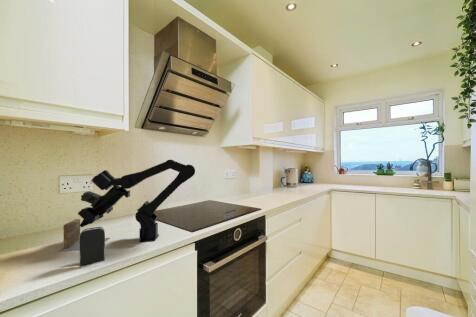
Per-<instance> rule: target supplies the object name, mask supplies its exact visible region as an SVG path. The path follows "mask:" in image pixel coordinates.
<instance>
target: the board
mask: <svg viewBox="0 0 476 317" xmlns="http://www.w3.org/2000/svg"><path fill="white" fill-rule="evenodd" d="M80 224H81V219H80V218H76V219H73V220H70V221H68V222H67V223H65V224H63V248H64V249H65V248H70V247H71V246H73V245H74V244H76V243H77V242H78V241H79V236H80V233H81V226H80Z"/></svg>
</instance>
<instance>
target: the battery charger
mask: <svg viewBox="0 0 476 317" xmlns="http://www.w3.org/2000/svg"><path fill="white" fill-rule="evenodd" d="M105 238H106V232H105V229H104V227H103V226H95V227H89V228H84V229H83V230H82V231H80V236H79V267H85V266H89V265H93V264H96V263H102V262H104V261H105V258H106V257H105V250H106V247H105V246H106V242H105Z"/></svg>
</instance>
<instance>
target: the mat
mask: <svg viewBox="0 0 476 317" xmlns="http://www.w3.org/2000/svg"><path fill="white" fill-rule="evenodd" d="M110 239H111V237H105V243H106V242H107V241H108V240H110ZM76 251H79V241H78V242H77V243H76V244H74V245H73V246H71V247H70V248H65V249H64V247H62V248H60V249H59V250H57V252H76Z"/></svg>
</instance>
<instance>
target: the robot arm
mask: <svg viewBox="0 0 476 317" xmlns="http://www.w3.org/2000/svg"><path fill="white" fill-rule="evenodd" d="M170 169H171V170H173V171H175V172H178V174H177V175H176V177H175V178H174V179H173V180H172V181H171V182H170V183H169V184H168V185H167V186H166V187H165V188H164V189H163V190H162V191H161V192H160V193H159V194H158V195H157V196H156V197H155V198H153V200H151V201H150V202H149V200H146V201H144V203H143V204H142V205H141V206H140V207H138V208H137V209H136V213H135V215H134V216H135V220H136V221H137V223H138V224H139V225H140V228H139V231H138V232H139V233H138V234H139V240H138V241H139V242H151V241H152V242H153V241H156V240H157V239H158V237H159V236H160V234H159V230H158V228H159V222H157V221H158V219H159V216H158V215H157V214H156V213H155V212H156V211H157V209H158V208H159V207H160V206H161V205H162V204H163V203H164V202H165V201H166V199H168V198H169V197H170V196H171V195H172V194H173V193H174V192H175V191H176V190H177V189H178V188H179V187H180V186H181V185H183V184H184V183H185V182H187V181H188V180H189V179H191V178H192V177H194V175H195V173H196V169H195V166H193V164H183V163H180V162H178V161H175V160H174V159H167V160H166V161H163V162H161V163H159V164H156V165H154V166H151V167H149V168H146V169H143V170H141V171H139V172H134V173H129V174H126V175H125V174H124V175H122V176H121V177H114V176H113V175H112V174H111V173H110V171H108V170H105V169H104V170H102V171H101V172H99V173H98V174H97V175H95V176H93V178H92V179H91V183H92V184H94V185H95V186H97V188H98V189H99V190H100V191H104V190H105V191H106V192H105V193H104V194H103V195H100V194H99V193H95V192H93V191H90V190H89V191H85V192H83V194H82V195H80V197H81V198H80V201H82V202H86V203H87V204H88V203H89V204H90V206H88V207H87V206H86V207H84V208H81V210H79V211H78V212H77V215H78V216H80V217H81V218H82V221H81V222H80V228H84V227H86V226H88V225H91V224H94V223H95V222H97V221H99V220H100V219H102V218H103V217H104V215H105V214H107V215H108V214H109V213H111V212H112V211H113V210H114V206H115V205H116V204H117V203H118V202H119V201H120V200H121V199H122V198H123V197H125V198H129V197H131V190H127V189H131V188H133V187H136V186H137V185H139V184H141V183H143V182H144V181H145V180H147V179H149V178H151V177H153V176H156V175H158V174H160V173H163V172H166V171H168V170H170Z"/></svg>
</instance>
